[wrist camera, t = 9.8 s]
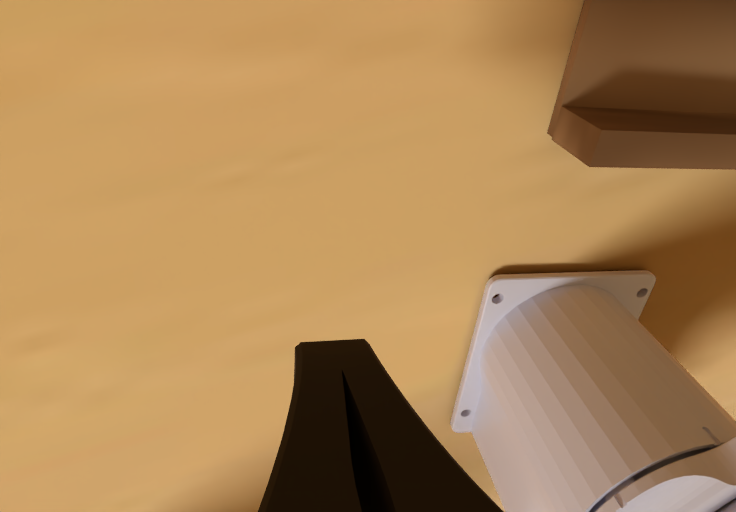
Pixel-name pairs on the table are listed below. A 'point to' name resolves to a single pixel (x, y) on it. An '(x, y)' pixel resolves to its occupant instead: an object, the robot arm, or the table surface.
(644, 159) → the chute
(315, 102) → the table surface
